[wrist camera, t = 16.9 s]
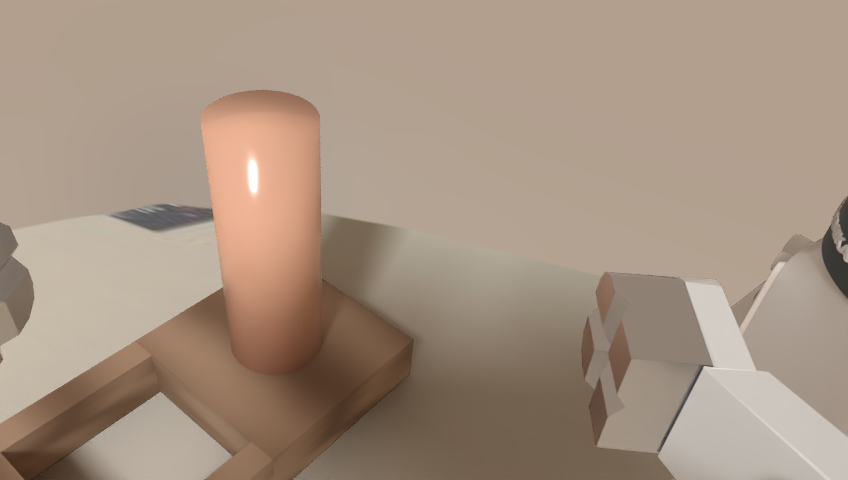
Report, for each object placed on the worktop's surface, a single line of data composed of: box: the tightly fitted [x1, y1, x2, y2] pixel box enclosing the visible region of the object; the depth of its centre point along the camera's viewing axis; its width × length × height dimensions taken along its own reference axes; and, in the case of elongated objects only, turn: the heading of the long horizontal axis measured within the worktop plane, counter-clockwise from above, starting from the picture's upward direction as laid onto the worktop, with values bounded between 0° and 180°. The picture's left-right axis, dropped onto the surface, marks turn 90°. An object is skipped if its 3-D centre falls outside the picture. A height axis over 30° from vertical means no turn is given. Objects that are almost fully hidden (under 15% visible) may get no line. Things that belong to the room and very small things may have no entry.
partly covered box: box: [0, 279, 413, 480], centre depth 37 cm, size 20×11×3 cm, turn 141°
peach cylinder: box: [201, 90, 323, 375], centre depth 35 cm, size 5×5×14 cm
